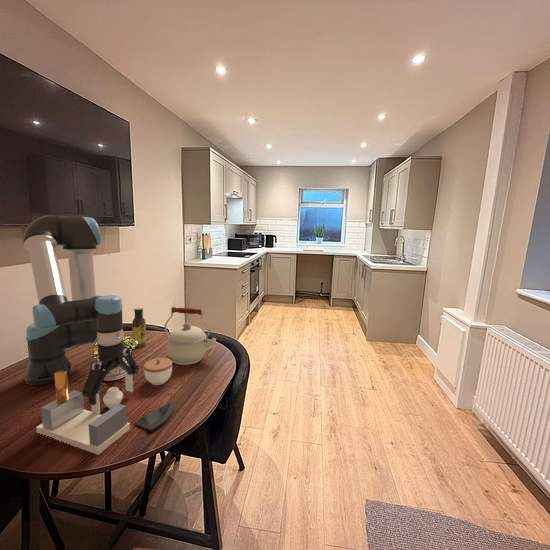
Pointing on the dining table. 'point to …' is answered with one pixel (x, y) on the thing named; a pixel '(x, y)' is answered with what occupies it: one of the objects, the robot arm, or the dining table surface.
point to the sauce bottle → (139, 327)
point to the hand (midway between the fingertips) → (113, 401)
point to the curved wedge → (155, 418)
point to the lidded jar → (158, 370)
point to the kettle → (187, 340)
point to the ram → (62, 403)
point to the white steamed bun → (113, 397)
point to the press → (91, 429)
